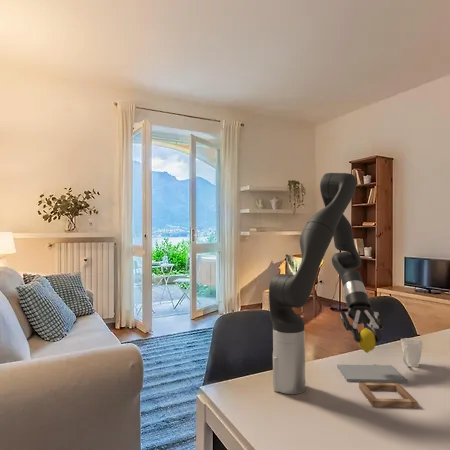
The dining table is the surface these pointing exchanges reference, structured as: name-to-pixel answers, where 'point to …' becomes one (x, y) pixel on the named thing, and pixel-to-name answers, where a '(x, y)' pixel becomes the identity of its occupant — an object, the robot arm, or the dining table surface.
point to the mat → (371, 373)
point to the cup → (411, 351)
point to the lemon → (367, 340)
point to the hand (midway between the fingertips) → (368, 341)
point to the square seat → (379, 402)
